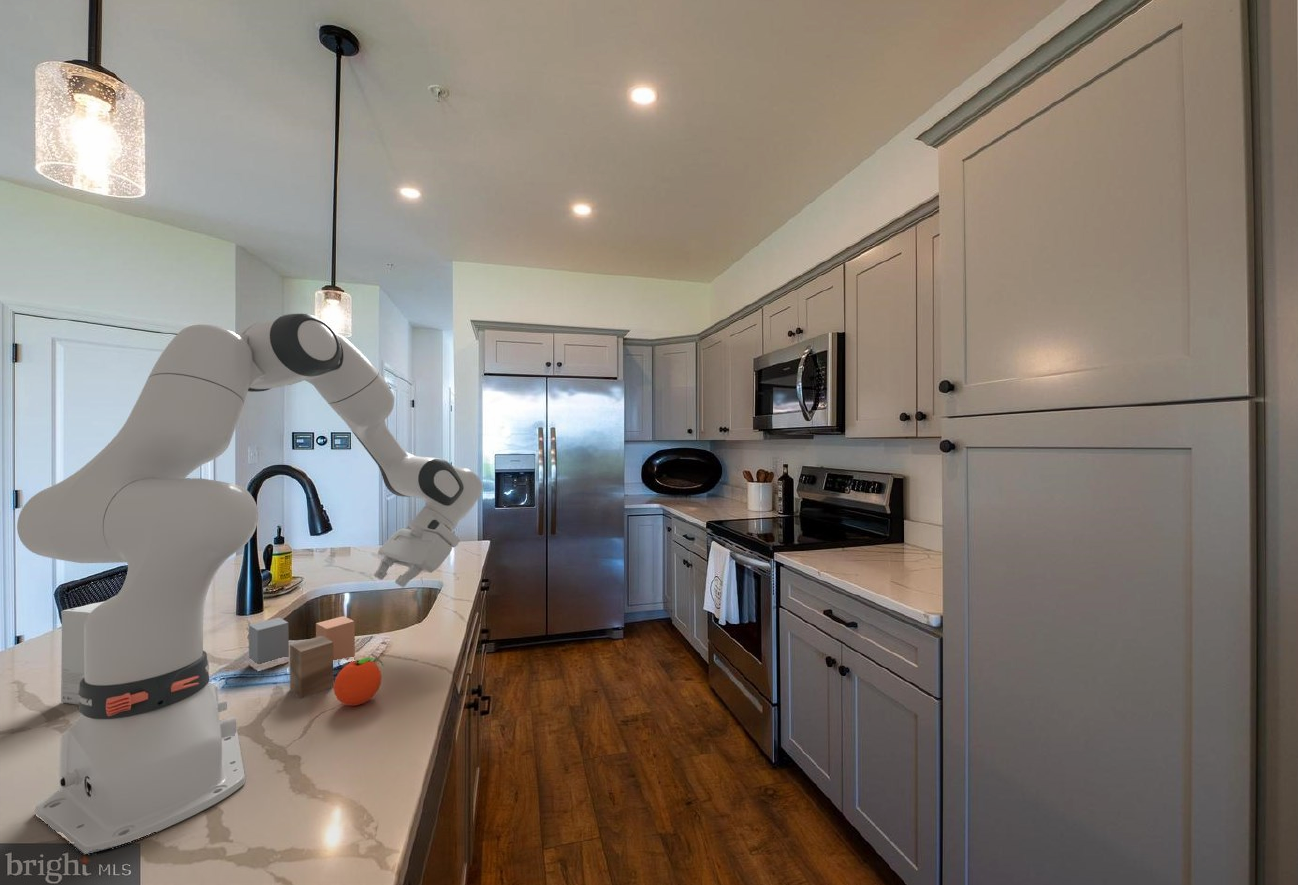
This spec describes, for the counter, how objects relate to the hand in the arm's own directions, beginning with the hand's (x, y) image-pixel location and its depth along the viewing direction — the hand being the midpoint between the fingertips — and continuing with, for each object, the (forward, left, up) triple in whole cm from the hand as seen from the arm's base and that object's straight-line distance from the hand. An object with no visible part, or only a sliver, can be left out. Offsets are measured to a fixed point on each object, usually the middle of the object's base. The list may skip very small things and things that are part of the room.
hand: (387, 581), depth 107 cm
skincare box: (+20, +39, -14) cm, 46 cm away
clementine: (-20, +14, -14) cm, 28 cm away
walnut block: (-8, +17, -14) cm, 23 cm away
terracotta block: (0, +10, -14) cm, 17 cm away
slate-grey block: (+10, +18, -14) cm, 25 cm away
